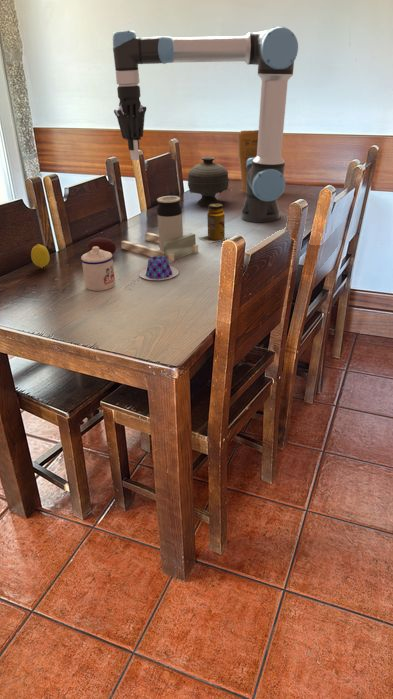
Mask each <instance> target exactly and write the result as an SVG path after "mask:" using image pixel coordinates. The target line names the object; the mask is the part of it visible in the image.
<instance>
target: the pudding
mask: <svg viewBox="0 0 393 699" xmlns="http://www.w3.org/2000/svg"><path fill="white" fill-rule="evenodd" d="M146 266H147V267H146V268H143V269H142V270H141V271H139V276H140V278H143V279H145V280H149V281H163V280H168V279H173V278H174V277H176V276H177V275H178V274H179V273H180V272H179V269H178V268H176V267H173V266H171V265H170V262H169V261H168V259H167V258H166V257H163V256H154V257H150V258H149V259H148V261H147V265H146Z"/></svg>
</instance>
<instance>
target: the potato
mask: <svg viewBox="0 0 393 699" xmlns="http://www.w3.org/2000/svg"><path fill="white" fill-rule="evenodd" d="M95 246H98V247H99V249H101V250H103V251H108V252H110V253H111V254H112V255H113V254H114V253H115V252H116V251H117V245H116V244H115V242H114V241H113V240H112V239H109V238H107V237H101V236H100V237H94V238H92V239H90V240H89V241H88V242H87V249H88V252H89V251H91V250H92V248H93V247H95Z"/></svg>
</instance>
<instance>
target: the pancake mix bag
mask: <svg viewBox="0 0 393 699" xmlns="http://www.w3.org/2000/svg"><path fill="white" fill-rule="evenodd" d="M258 130H259V129H256V130H240V132H238V133H237V143H238V144H237V145H238V158H239V159H238V160H239V168H240V178H241V183H242V187H241V188H242V189H241V193H242V194H246V164H247V159H249V158H255V157H256V156H257V145H258Z"/></svg>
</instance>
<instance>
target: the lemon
mask: <svg viewBox="0 0 393 699" xmlns="http://www.w3.org/2000/svg"><path fill="white" fill-rule="evenodd" d="M30 257H31V261H32V262H33V264H34V265H35V266H37V268H38V267H39V268H41V269H44V268H45V266H47V265H48V264H49V262H50V253H49V251H48V249H47V247H46V246H45V245H42V244H40V243H37V244H36V245H34V246H33V247H32V249H31V253H30ZM43 267H44V268H43Z"/></svg>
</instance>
